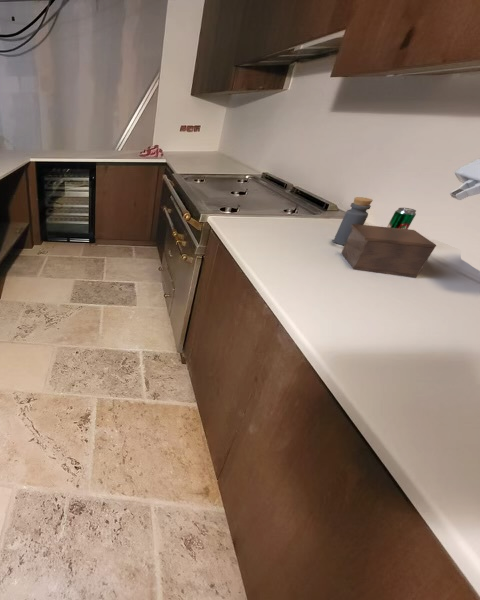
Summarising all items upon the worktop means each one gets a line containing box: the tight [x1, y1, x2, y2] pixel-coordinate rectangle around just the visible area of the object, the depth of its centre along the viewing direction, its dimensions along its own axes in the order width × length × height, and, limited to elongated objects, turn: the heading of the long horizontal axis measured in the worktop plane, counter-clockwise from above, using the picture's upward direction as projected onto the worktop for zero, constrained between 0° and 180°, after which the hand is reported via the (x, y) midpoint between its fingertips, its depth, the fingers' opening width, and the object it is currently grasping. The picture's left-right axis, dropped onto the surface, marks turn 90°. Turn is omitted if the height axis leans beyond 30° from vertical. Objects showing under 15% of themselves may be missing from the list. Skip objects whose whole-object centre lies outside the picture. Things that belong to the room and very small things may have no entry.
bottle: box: [333, 196, 374, 246], centre depth 107 cm, size 6×6×15 cm
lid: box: [351, 224, 437, 249], centre depth 91 cm, size 15×13×1 cm
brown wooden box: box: [341, 229, 435, 279], centre depth 94 cm, size 15×13×9 cm
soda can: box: [386, 207, 417, 229], centre depth 106 cm, size 5×5×12 cm
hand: (454, 196), depth 82 cm, fingers closed
